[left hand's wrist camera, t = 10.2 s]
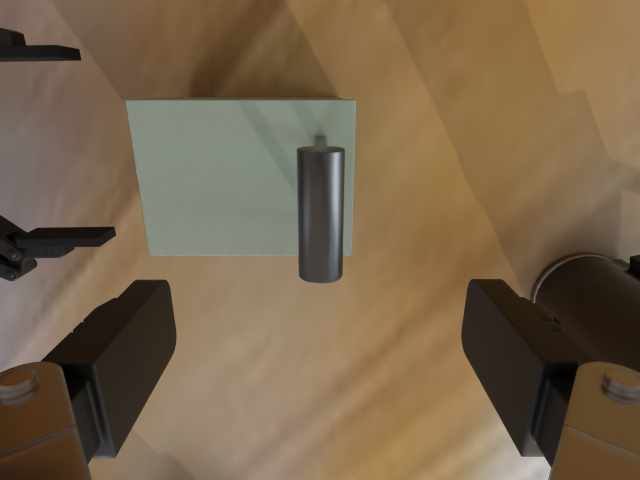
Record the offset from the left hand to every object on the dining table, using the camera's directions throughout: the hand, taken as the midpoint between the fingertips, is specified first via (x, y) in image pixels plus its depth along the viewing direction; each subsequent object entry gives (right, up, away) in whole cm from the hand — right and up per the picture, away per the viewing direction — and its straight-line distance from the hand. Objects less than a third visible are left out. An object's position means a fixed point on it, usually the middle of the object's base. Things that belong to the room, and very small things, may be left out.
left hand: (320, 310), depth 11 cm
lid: (-5, +6, +16) cm, 18 cm away
